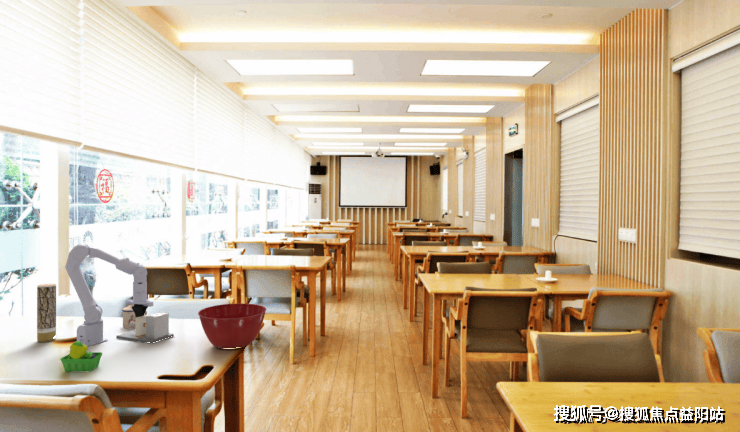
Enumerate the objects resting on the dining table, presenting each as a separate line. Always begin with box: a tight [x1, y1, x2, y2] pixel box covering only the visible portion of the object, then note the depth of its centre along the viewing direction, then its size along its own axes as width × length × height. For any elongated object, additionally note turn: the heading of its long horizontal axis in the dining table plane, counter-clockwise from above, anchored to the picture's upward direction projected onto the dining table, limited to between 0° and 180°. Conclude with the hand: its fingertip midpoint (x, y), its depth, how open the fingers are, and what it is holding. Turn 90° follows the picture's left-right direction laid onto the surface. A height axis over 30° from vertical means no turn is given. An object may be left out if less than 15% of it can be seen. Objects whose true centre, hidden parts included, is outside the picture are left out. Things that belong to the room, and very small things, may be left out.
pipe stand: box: [129, 312, 170, 340], centre depth 198 cm, size 8×19×10 cm, turn 69°
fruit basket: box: [60, 340, 103, 373], centre depth 157 cm, size 11×9×11 cm
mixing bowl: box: [197, 302, 267, 349], centre depth 187 cm, size 28×28×16 cm
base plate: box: [116, 330, 174, 344], centre depth 198 cm, size 12×22×1 cm, turn 69°
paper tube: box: [36, 283, 57, 343], centre depth 193 cm, size 7×7×25 cm
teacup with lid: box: [122, 304, 148, 329], centre depth 219 cm, size 12×9×12 cm
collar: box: [134, 314, 150, 336], centre depth 198 cm, size 7×2×8 cm, turn 159°
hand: (139, 320), depth 199 cm, fingers closed
